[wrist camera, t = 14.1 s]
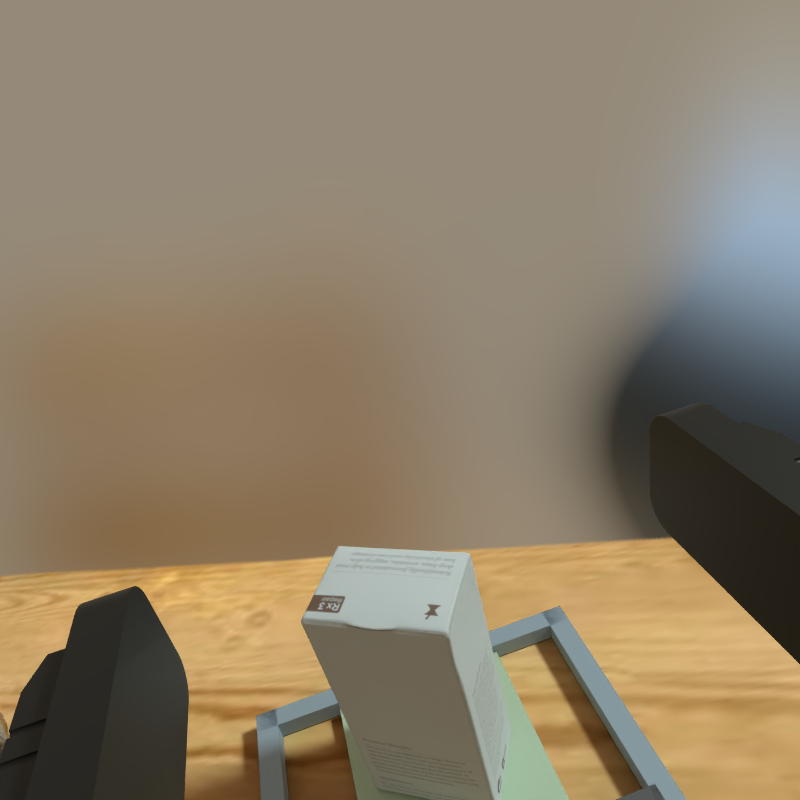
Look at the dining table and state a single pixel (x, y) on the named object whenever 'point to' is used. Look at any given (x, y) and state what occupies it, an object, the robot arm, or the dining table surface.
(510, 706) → the pad
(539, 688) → the dining table surface
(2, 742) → the lion figurine
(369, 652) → the skincare box
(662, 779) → the lane rails
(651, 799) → the grey slab
